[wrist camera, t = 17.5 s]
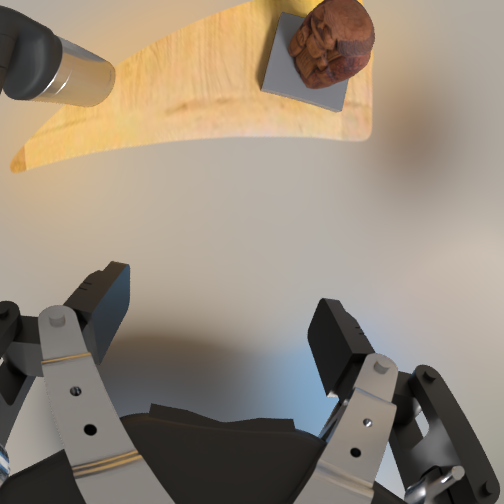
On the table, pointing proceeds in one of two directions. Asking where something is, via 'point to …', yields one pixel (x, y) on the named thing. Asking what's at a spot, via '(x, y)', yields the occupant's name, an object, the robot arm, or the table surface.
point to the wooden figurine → (332, 43)
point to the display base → (287, 78)
